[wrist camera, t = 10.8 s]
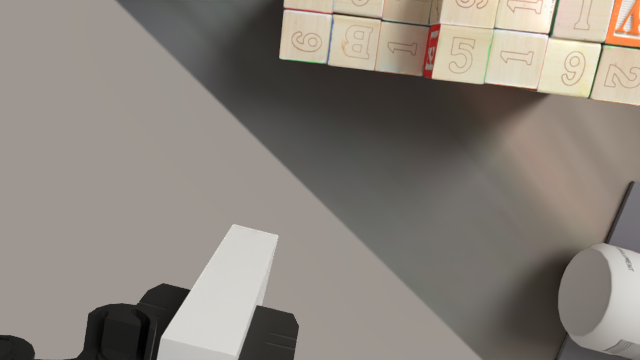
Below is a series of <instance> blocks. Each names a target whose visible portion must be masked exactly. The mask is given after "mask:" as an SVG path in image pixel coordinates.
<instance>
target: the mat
mask: <svg viewBox="0 0 640 360" xmlns="http://www.w3.org/2000/svg"><path fill="white" fill-rule="evenodd" d="M606 244H609V245H612V246H616V247H620V248H623V249H627V250H631V251H634V252H638V253H640V183H638V182H634V181H632V183H631V185H630V187H629V190H628V192H627V194H626V197H625V199H624V201H623V204H622V206H621V208H620V211H619V213H618V215H617V218H616V220H615V223H614V225H613V227H612V230H611V232H610V234H609V237H608V239H607V241H606ZM556 360H629V359H626V358H622V357H618V356H614V355H611V354H607V353H603V352H599V351H596V350H592V349H588V348H584V347H581V346H579V345H578V344H577V343H576V342H574V341H573V340H572V339H571V337H570V336H569V334H568V333H567V335H566V338H565V340H564V342H563V345H562V347H561V349H560V352H559V354H558V356H557V359H556Z"/></svg>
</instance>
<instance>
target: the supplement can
mask: <svg viewBox="0 0 640 360" xmlns="http://www.w3.org/2000/svg"><path fill="white" fill-rule="evenodd" d="M558 310H559V315H560V320H561V322H562V324H563V326H564V328H565V330H566V331H567V332H568V334H569V336H570V337H571V339H572V340H573V341H574V342H576V343H577V344H578V345H579V346H581V347H584V348H588V349H592V350H596V351H599V352H603V353H607V354H611V355H614V356H618V357H622V358H626V359H629V360H640V253H638V252H634V251H631V250H627V249H623V248H620V247H616V246H612V245H609V244H605V243H599V244H594V245H591V246H590V247H588V248H587V249H584V250H582V251H581V252H579V253H578V254H577V255H575V256H574V258H573V259H572V260H571V262H570V263H569V264H568V266H567V268H566V270H565V272H564V275H563V277H562V279H561V284H560V288H559V293H558Z"/></svg>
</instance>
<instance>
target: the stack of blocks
mask: <svg viewBox="0 0 640 360" xmlns="http://www.w3.org/2000/svg"><path fill="white" fill-rule="evenodd" d="M279 58H280V59H283V60H292V61H301V62H309V63H319V64H327V65H330V66H338V67H347V68H355V69H363V70H372V71H379V72H387V73H397V74H407V75H416V76H423V77H426V78H430V79H435V80H444V81H454V82H463V83H472V84H484V83H486V84H495V85H503V86H510V87H515V88H519V89H525V90H530V91H535V92H541V93H549V94H557V95H565V96H573V97H581V98H588V99H593V100H600V101H607V102H615V103H622V104H629V105H637V106H640V0H284V14H283V23H282V33H281V44H280V55H279Z"/></svg>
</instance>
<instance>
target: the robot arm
mask: <svg viewBox="0 0 640 360" xmlns="http://www.w3.org/2000/svg"><path fill="white" fill-rule="evenodd" d="M278 236H279V235H275V234H271V233H267V232H263V231H258V230H255V229H251V228H247V227H243V226H239V225H235V224H233V225H232V227H231V228H230V230H229V231H228V233H227V235H226V236H225V238H224V239H223V241H222V242H221V244H220V246H219V247H218V249H217V250H216V252H215V253H214V255H213V256H212V258H211V260H210V262H209V263H208V264H207V266H206V267H205V269H204V271H203V272H202V274H201V275H200V277H199V279H198V280H197V282H196V283H195V285H194V287H193V288H192V290H189V289H184V288H180V287H176V286H172V285H168V284H164V283H163V284H161V285H158V286H156V287H154V288H152V289H150V290H148V291H147V292H146V294H145V295H144V296H143V297H142V299H141V300H140V301H139V303H137V305H131V304H123V303H121V304H109V305H105V306H102V307H99V308H96V309H95V310H93V311H92V312H91V313H89V314H88V321H87V328H86V335H85V342H84V349H83V351H82V352H81V353H80V355H79V356H78V357H77V358H74V359H66V360H293V359H294V353H295V347H296V340H297V335H298V329H299V325H298V324H297V321H296V319H295V317H294V315H293V314H291V313H287V312H283V311H279V310H275V309H271V308H267V307H263V306H262V301H263V298H264V293H265V289H266V285H267V281H268V277H269V273H270V269H271V264H272V261H273V257H274V252H275V248H276V244H277V240H278ZM34 356H35V352H34V349H33V346H32V345H31V344H30V343H29V342H27V341H25V340H24V339H22V338H18V337H15V336H11V335H0V360H40V359H34Z"/></svg>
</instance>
